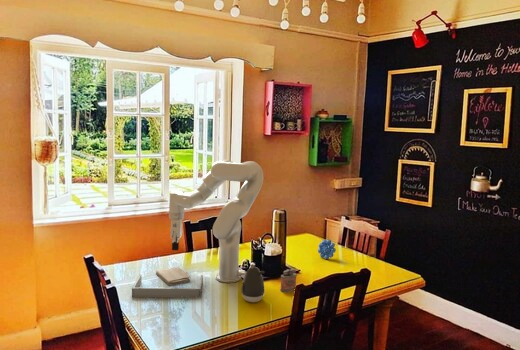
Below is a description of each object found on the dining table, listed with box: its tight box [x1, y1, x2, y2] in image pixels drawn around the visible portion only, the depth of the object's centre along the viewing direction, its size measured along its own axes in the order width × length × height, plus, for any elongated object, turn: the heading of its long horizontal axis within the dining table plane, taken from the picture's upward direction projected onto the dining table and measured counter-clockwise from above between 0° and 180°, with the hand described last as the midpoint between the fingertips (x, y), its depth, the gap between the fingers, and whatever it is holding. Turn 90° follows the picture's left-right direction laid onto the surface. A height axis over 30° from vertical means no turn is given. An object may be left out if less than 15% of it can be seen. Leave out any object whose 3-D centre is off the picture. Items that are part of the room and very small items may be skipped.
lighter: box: [279, 268, 298, 293], centre depth 203 cm, size 8×3×10 cm, turn 117°
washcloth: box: [155, 266, 191, 287], centre depth 214 cm, size 12×18×3 cm, turn 35°
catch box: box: [131, 274, 204, 299], centre depth 199 cm, size 30×16×4 cm, turn 93°
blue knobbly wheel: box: [317, 239, 337, 260], centre depth 249 cm, size 12×7×12 cm, turn 48°
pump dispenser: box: [240, 266, 266, 303], centre depth 191 cm, size 10×10×15 cm
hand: (175, 249), depth 224 cm, fingers closed
